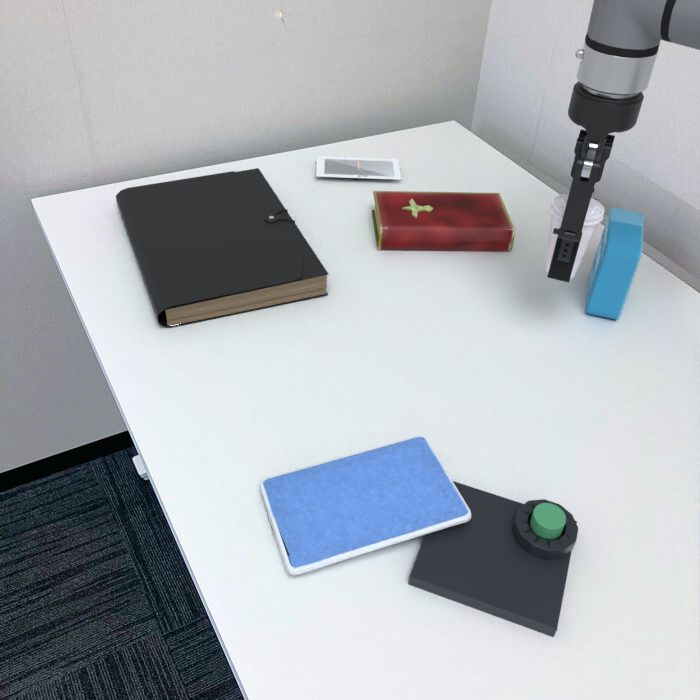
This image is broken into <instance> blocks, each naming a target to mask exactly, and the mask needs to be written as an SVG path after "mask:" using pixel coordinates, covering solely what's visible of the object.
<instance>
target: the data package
mask: <svg viewBox="0 0 700 700" xmlns="http://www.w3.org/2000/svg"><path fill="white" fill-rule="evenodd" d="M644 217H645V215H644V213H643V212H639V211H634V210H628V209H624V208H619V207H610V209H609V211H608V214H607V218H606V219H605V224H604V227H603V230H602V233H601V237H600V239H599V243H598V246H597V249H596V252H595V256H594V258H593V262H592V266H591V269H590V273H589V280H588V287H587V296H586V304H585V305H586V306H585V313H586V314H588V315H593V316H598V317H603V318H607V319H612V320H616V321H617V320H619V319H620V317H621V315H622V313H623V310H624V306H625V305H626V301H627V298H628V296H629V292H630V291H631V290H630V289H631V287H632V284H633V282H634V279H635V276H636V273H637V270H638V268H639V265H640V262H641V259H642V256H643V250H644V221H645V220H644Z"/></svg>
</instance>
